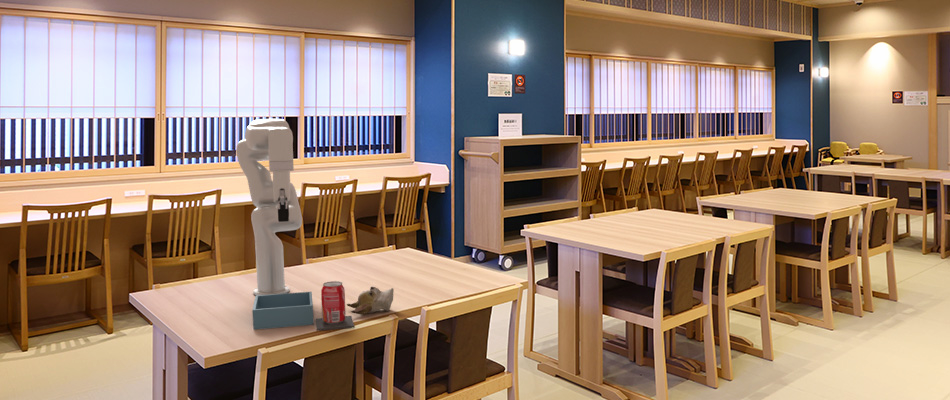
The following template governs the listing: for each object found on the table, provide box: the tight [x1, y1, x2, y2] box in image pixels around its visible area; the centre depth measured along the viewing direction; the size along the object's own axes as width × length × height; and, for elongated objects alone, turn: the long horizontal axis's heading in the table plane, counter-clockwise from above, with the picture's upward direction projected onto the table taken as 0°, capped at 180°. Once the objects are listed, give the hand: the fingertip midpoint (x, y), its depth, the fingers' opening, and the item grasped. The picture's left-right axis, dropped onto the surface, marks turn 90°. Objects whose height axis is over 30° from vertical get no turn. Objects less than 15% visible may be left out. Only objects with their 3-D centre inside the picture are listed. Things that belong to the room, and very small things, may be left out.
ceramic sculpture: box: [346, 286, 395, 315], centre depth 223 cm, size 11×9×15 cm
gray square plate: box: [315, 315, 355, 331], centre depth 210 cm, size 11×11×1 cm
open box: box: [251, 291, 315, 330], centre depth 216 cm, size 18×18×6 cm
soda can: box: [320, 280, 346, 324], centre depth 210 cm, size 7×7×12 cm
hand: (283, 219), depth 222 cm, fingers open, 9 cm apart
